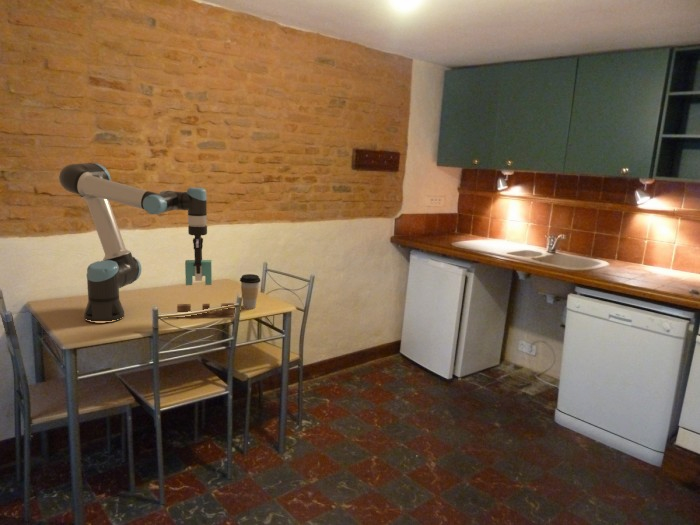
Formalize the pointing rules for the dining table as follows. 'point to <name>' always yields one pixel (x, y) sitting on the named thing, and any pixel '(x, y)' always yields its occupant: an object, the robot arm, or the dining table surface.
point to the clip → (205, 271)
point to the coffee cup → (249, 290)
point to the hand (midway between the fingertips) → (198, 279)
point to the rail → (222, 313)
